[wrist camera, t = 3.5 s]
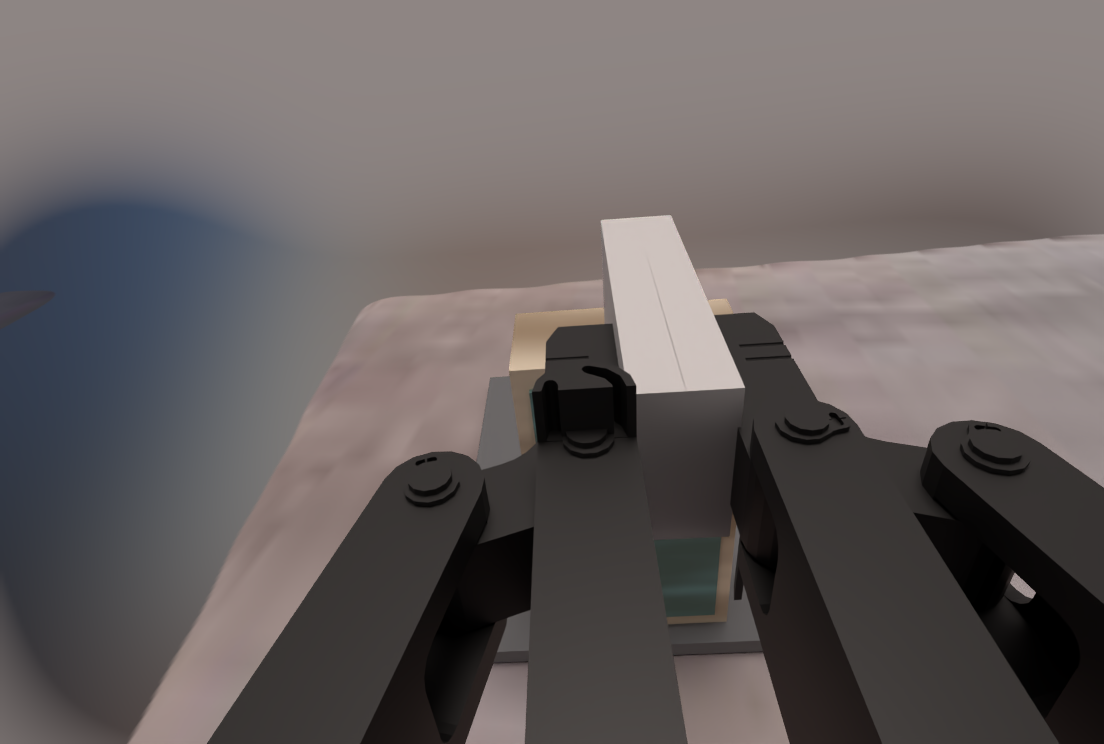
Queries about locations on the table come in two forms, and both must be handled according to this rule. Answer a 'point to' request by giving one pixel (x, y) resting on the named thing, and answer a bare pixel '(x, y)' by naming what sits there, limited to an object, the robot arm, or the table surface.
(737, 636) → the mat
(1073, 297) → the table surface
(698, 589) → the block
